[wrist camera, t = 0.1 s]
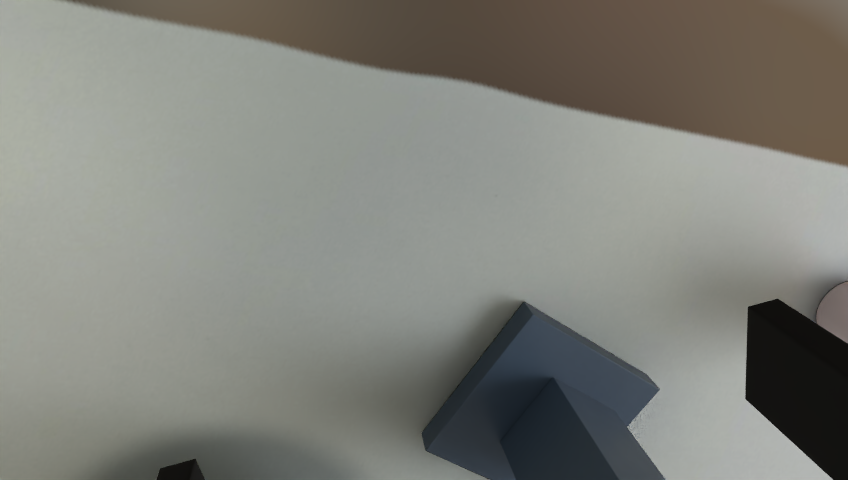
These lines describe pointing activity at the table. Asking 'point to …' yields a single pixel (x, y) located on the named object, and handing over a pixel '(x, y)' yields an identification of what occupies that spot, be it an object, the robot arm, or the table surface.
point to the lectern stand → (545, 409)
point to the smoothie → (835, 312)
